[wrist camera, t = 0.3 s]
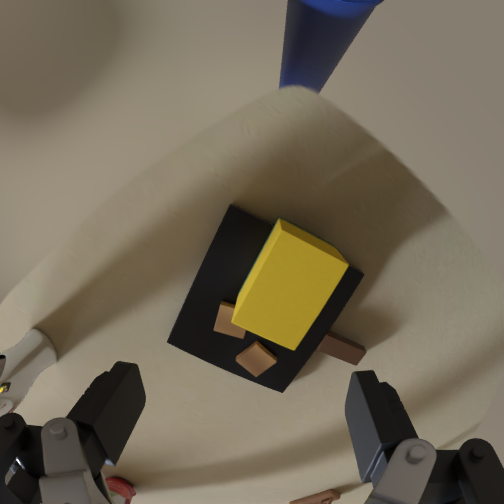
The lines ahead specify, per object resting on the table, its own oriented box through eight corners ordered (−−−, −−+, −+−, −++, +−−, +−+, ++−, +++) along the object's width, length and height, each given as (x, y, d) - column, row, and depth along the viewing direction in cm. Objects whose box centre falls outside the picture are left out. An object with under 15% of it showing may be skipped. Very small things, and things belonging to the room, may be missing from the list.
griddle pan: (231, 203, 27) (229, 204, 26) (399, 291, 28) (404, 297, 27) (169, 336, 31) (165, 344, 30) (319, 399, 32) (321, 408, 31)
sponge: (278, 216, 26) (281, 228, 20) (332, 244, 26) (349, 264, 20) (238, 292, 28) (230, 322, 22) (290, 316, 28) (294, 351, 23)
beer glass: (21, 340, 34) (-38, 391, 19) (33, 316, 32) (-37, 370, 18) (51, 373, 35) (-3, 432, 20) (65, 353, 33) (3, 419, 19)
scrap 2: (256, 340, 29) (256, 344, 28) (277, 357, 30) (277, 362, 29) (236, 356, 30) (235, 360, 29) (256, 372, 30) (256, 377, 29)
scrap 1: (221, 300, 28) (220, 304, 28) (252, 309, 28) (251, 313, 28) (214, 326, 29) (213, 330, 28) (244, 334, 29) (243, 339, 28)
